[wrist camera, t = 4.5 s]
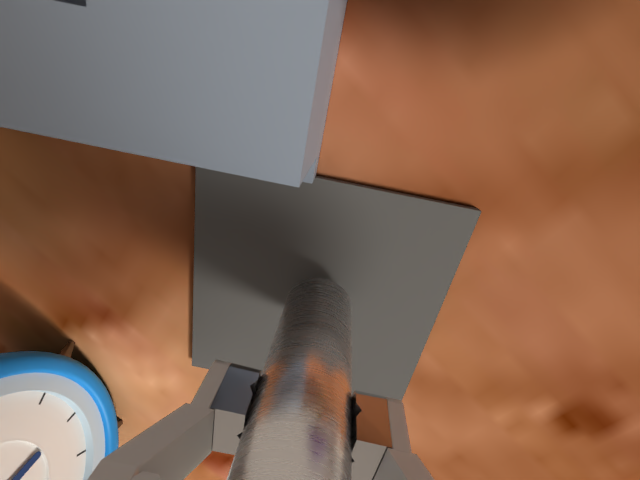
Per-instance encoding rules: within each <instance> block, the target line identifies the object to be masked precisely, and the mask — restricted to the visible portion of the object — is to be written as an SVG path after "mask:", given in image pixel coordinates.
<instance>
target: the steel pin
mask: <svg viewBox="0 0 640 480" xmlns="http://www.w3.org/2000/svg"><path fill="white" fill-rule="evenodd" d="M351 477H352V305H351V300H350V297H349V295H348V294H347V292H346V291H345V290H344V289H343V288H342V287H341V286H340V285H339V284H337V283H335V282H333V281H331V280H328V279H323V278H310V279H306V280H303V281H301V282H299V283H297V284H296V285H295V286H294V287H293V288H292V289H291V290H290V292H289V293H288V296H287V299H286V302H285V305H284V308H283V311H282V314H281V317H280V320H279V323H278V326H277V329H276V332H275V335H274V338H273V341H272V344H271V347H270V350H269V353H268V356H267V359H266V362H265V365H264V368H263V371H262V374H261V378H260V381H259V384H258V388H257V391H256V394H255V396H254V399H253V402H252V405H251V409H250V412H249V415H248V418H247V421H246V424H245V427H244V430H243V432H242V435H241V438H240V441H239V444H238V447H237V450H236V453H235V456H234V459H233V462H232V465H231V468H230V471H229V474H228V477H227V480H351Z"/></svg>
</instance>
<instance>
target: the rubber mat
mask: <svg viewBox="0 0 640 480" xmlns="http://www.w3.org/2000/svg"><path fill="white" fill-rule="evenodd" d="M480 214H481V211H480V210H479V209H478V208H474V207H469V206H464V205H459V204H454V203H449V202H444V201H439V200H434V199H430V198H425V197H420V196H415V195H410V194H405V193H400V192H395V191H390V190H385V189H380V188H375V187H371V186H366V185H361V184H356V183H351V182H346V181H341V180H336V179H331V178H326V177H321V176H315V178H314V180H313V183H312V184H311V183H306V182H302V183H301V185H300V187H294V186H289V185H284V184H279V183H274V182H269V181H264V180H259V179H254V178H249V177H244V176H240V175H235V174H230V173H225V172H220V171H215V170H210V169H205V168H200V167H196V180H195V234H194V287H193V340H192V366H196V367H201V368H206V369H210V367H211V365H212V363H213V362H214V361H215V360H216V359H217V360H221V361H225V362H229V363H234V364H238V365H242V366H246V367H250V368H254V369H258V370H261V371H263V368H264V365H265V362H266V359H267V356H268V353H269V350H270V347H271V344H272V341H273V338H274V335H275V332H276V329H277V326H278V323H279V320H280V317H281V314H282V311H283V308H284V305H285V302H286V299H287V296H288V293H289V292H290V290H291V289H292V288H293V287H294V286H295V285H296V284H297V283H299V282H301V281H303V280H306V279H310V278H323V279H328V280H331V281H333V282H335V283H337V284H339V285H340V286H341V287H342V288H343V289H344V290H345V291H346V292H347V294H348V295H349V297H350V300H351V305H352V394H353V392H354V391H355V390H356V391H361V392H365V393H370V394H375V395H380V396H384V397H388V398H393V399H397V400H401V401H402V398H403V396H404V394H405V391H406V389H407V387H408V384H409V382H410V379H411V377H412V375H413V372H414V370H415V368H416V365H417V363H418V360H419V358H420V356H421V353H422V351H423V349H424V346H425V344H426V341H427V339H428V337H429V334H430V332H431V330H432V327H433V325H434V323H435V320H436V318H437V315H438V313H439V311H440V308H441V306H442V304H443V301H444V299H445V296H446V294H447V292H448V289H449V287H450V285H451V282H452V280H453V278H454V275H455V273H456V270H457V268H458V266H459V263H460V261H461V259H462V256H463V254H464V251H465V249H466V247H467V244H468V242H469V240H470V237H471V235H472V232H473V230H474V228H475V225H476V223H477V221H478V218H479V216H480ZM261 374H262V373H261Z"/></svg>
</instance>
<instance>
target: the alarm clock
mask: <svg viewBox="0 0 640 480" xmlns="http://www.w3.org/2000/svg"><path fill="white" fill-rule="evenodd" d="M74 344H75V343H74V342H72V341H70V342H68V343H67V344H66V346H65V347H64V348H63V350H62V351H61V352H60V354H55V353H50V352H41V351H18V352H8V353H0V480H87V479H88V478H89V477H90V475H91V474H92V472H93V471H94V469H95V468H96V467H97V465H98V464H99V462H100V461H101V460H102V459H103V458H104V457H106V456H107V455H109V454H110V453H112V452H113V451H115V450H116V449H118V444H119V439H118V428H119V427H120V426H121V425H122V424H123V422H122V420H119V421H117V417H116V412H115V408H114V405H113V402H112V399H111V397H110V394H109V393H108V391H107V389H106V387H105V386H104V384H103V383H102V381H101V380H100V379H99V378H98V377H97V375H96V374H95V373H94V372H93V371H91V370H90V369H89V368H88V367H87V366H85V365H84V364H82V363H80V362H79V361H77V360H74V359H72V358H71V354H72V351H73V348H74Z"/></svg>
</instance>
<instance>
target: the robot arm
mask: <svg viewBox="0 0 640 480" xmlns="http://www.w3.org/2000/svg"><path fill="white" fill-rule="evenodd" d="M261 373H262V371H261V370H258V369H254V368H250V367H246V366H242V365H238V364H234V363H229V362H225V361H221V360H217V359H216V360H215V361H214V362H213V363H212V365H211V367H210V369H209V371H208V373H207V374H206V376H205V378H204V380H203V382H202V384H201V386H200V388H199V389H198V391H197V393H196V395H195V397H194V399H193V401H192V402H191V404H187V403H185V404H184V405H182V406H181V407H179V408H178V409H176V410H175V411H173V412H172V413H170V414H169V415H167V416H166V417H164V418H163V419H161V420H160V421H158V422H157V423H155V424H154V425H152V426H151V427H149V428H148V429H146V430H145V431H143V432H142V433H140V434H139V435H137V436H136V437H134V438H133V439H131V440H130V441H128V442H127V443H125V444H124V445H122V446H121V447H119V448H118V449H116V450H115V451H113V452H112V453H110V454H109V455H107V456H106V457H104V458H103V459H102V460H101V461H100V462H99V464H98V465H97V467H96V468H95V469H94V471H93V472H92V474H91V475H90V477H89V478H88V479H87V480H183V479H184V478H185V477H187V476H188V475H189V474H190V473H191V472H192V471H193V470H194V469H195V468H196V467H197V466H198V465H199V464H200V463H201V462H202V461H203V460H204V459H205V458H206V457H207V456H208V455H209V454H210V453H211V451H217V452H222V453H227V454H232V455H235V453H236V450H237V447H238V444H239V441H240V438H241V435H242V432H243V430H244V427H245V424H246V421H247V418H248V415H249V412H250V409H251V405H252V402H253V399H254V396H255V394H256V391H257V388H258V384H259V381H260V378H261ZM351 480H434V478H433V477H432V476H431V474H430V473H429V471H428V470H427V468H426V467H425V466H424V464H423V463H422V461H421V460H420V458H419V457H418V456H417V454H413V453H412V452H411V446H410V440H409V435H408V429H407V423H406V417H405V412H404V406H403V403H402V401H401V400H397V399H393V398H388V397H384V396H380V395H375V394H370V393H365V392H361V391H356V390H355V391H354V392H353V394H352V477H351Z"/></svg>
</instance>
